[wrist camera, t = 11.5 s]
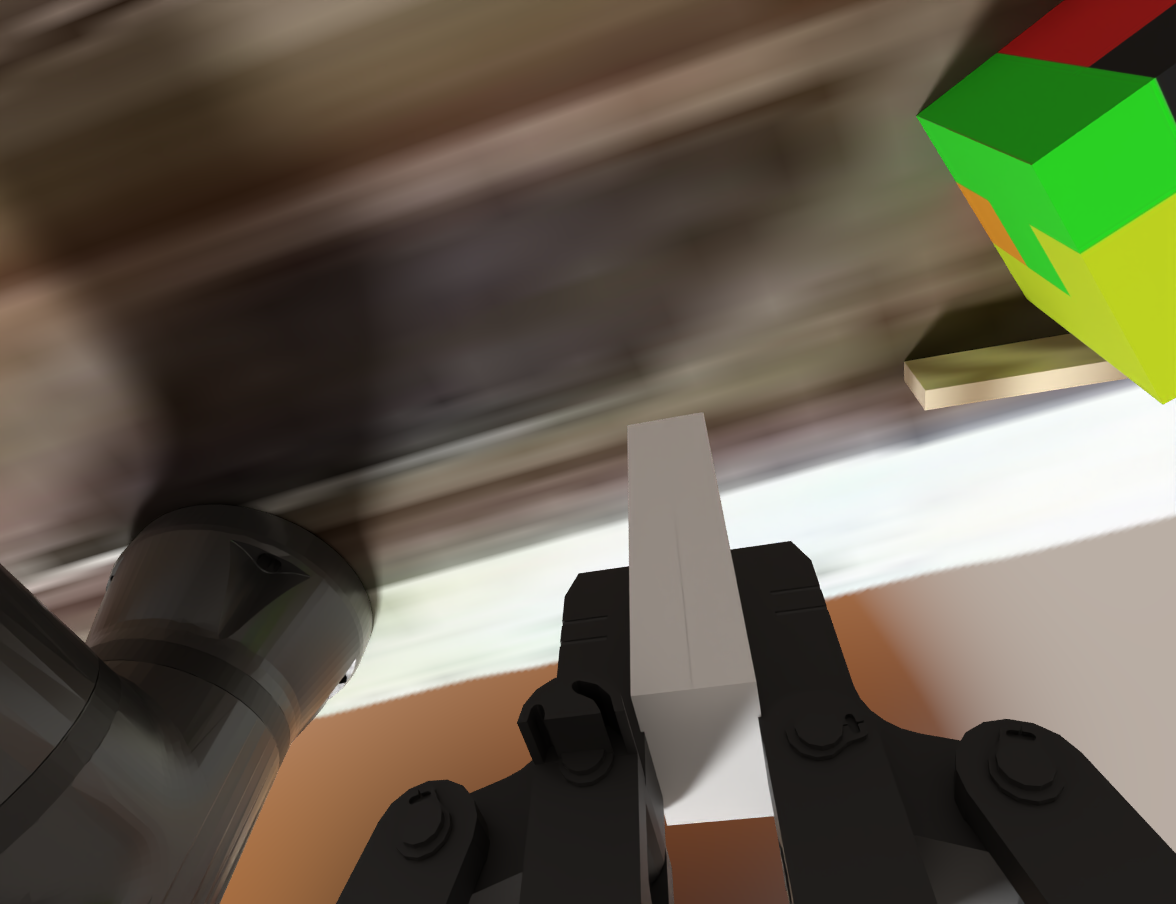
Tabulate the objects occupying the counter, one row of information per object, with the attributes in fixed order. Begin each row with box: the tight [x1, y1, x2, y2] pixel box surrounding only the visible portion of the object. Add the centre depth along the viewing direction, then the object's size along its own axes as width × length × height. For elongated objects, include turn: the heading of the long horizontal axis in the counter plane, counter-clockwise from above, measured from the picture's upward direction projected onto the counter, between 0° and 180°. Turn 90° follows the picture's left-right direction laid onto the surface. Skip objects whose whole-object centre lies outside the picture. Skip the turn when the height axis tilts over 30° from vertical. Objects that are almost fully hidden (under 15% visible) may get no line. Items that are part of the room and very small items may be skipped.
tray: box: [904, 333, 1128, 410], centre depth 27 cm, size 18×20×3 cm
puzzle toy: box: [917, 0, 1176, 404], centre depth 24 cm, size 10×10×10 cm
